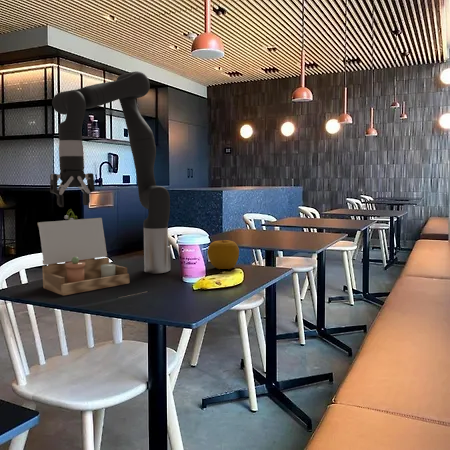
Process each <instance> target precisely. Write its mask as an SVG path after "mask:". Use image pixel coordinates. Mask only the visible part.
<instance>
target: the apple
mask: <svg viewBox="0 0 450 450" xmlns="http://www.w3.org/2000/svg"><path fill="white" fill-rule="evenodd" d="M207 257H208V261H209V262H210V264H211V265H212V266H213V267H214V268H215V269H217V270H220V269H228V270H231V269H233V268H234V267H235V266H236V265H237V263H238V260H239V257H240V248H239V246H238V244H237V243H236V242H235V241H233V240H227V239H223V240H214V241H213V242H211V243H210V244H209V245H208V248H207Z"/></svg>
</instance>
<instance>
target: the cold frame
mask: <svg viewBox="0 0 450 450" xmlns="http://www.w3.org/2000/svg"><path fill="white" fill-rule="evenodd" d="M79 262H85V267H84V279H85V281H79V282H73V283H67V268H66V265H65V264H66V263H65V262H62V263H55V264H47V265H42V269H41V271H42V287H43V288H42V289H44V290H47V291H50V292H53V293H55V294H57V295H61V296H68V295H73V294H78V293H83V292H84V293H85V292H90V291H95V290H101V289H105V288H111V287H117V286H122V285H127V284H128V285H129V284H131V283H130V273H128V267H126V266H121V265H118V264H115V274H116V275H115V276H109V277H103V278H101V265H104V264H111V262H110V258H109V257H99V258H92V259H86V260H85V261H79Z"/></svg>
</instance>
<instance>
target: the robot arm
mask: <svg viewBox="0 0 450 450" xmlns="http://www.w3.org/2000/svg"><path fill="white" fill-rule="evenodd" d="M150 85H151V84H150V80H149V77H148V76H147V75H146V74H145V73H144V72H142V71H131V72H127V73H123V74H120V75H118V77H117V78H116V80H112V81H106V82H99V83H95V84H91V85H87V86H84V87H81V88H78V89H77V88H76V89H71V90H66V91H64V90H63V91H60V92H58V93H57V92H56V94H55V95H53V96H54V97H53V98H52V101H51V104H52V107H53V109H54V111H55V112H57V113H58V114H60V115H63V116H64V115H66V116H65V120H63V121H62V122H60V123H59V124H58V160H59V174H57V173H50V175H49V178H50V179H49V180H50V181H49V182H50V183H49V192H50V193H51V194H55V195H56V204H57V206H58V207H59V208H64V207H65V200H64V198H65V197H64V192H65V191H66V190H67V188H78V189H80V190H81V192H82V205H83V206H89V204H90V194H91V193H92V192H95V191H96V189H95V176H94V173H91V172H90V173H89V172H88V173H85V161H84V160H85V156H84V154H85V152H84V145H83V130H82V129H83V124H84V120H85V115H86V110H87V109H89V110H90V109H93V108H98V107H100V106H103V105H106V104H107V105H108V104H109V103H111V102H112V103H113V102H115V101H118V100H119V103H120V107H121V110H122V113H123V117H124V120H125V124H126V128H127V129H126V130H127V135H128V141H129V146H130V149H131V150H130V151H131V153H132V158H133V163H134V168H135V174H136V180H137V189H138V190H137V191H138V199H139V201H140V205H141V206H142V207H143V208H145V209H146V210H148V216H147V217H146V218H145V219H144V220H143V254H144V255H143V260H144V261H143V263H144V264H143V266H144V268H143V269H144V272H145V273H149V274H163V273H164V274H165V273H168V272H169V271H171V246H169V234H168V233H169V230H168V229H169V228H168V227H169V225H168V223H169V220H170V216H171V215H170V214H171V213H170V212H171V197H170V192H169V191H168V189H167V188H166V187H164V186H161V185H157V182H156V179H155V171H154V168H155V163H156V162H155V161H156V156H157V147H156V142H155V141H156V140H155V136H154V133H153V130H152V129H151V127H150V126H149V124H148V122H147V121H146V120H145V119H144V117H143V116H142V115H141V112H140V110H139V108H138V103H137V100H136V99H140V98H143V97H144V96H146V95H147V94H148V93H149V92H150V87H151V86H150ZM59 180H60V181H61V182H60V184H59V185H58V181H59ZM84 180H86V183H85V182H84Z"/></svg>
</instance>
